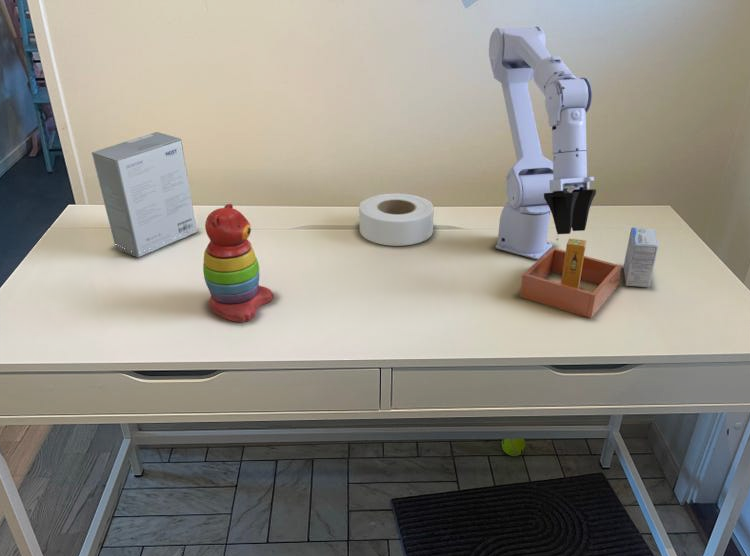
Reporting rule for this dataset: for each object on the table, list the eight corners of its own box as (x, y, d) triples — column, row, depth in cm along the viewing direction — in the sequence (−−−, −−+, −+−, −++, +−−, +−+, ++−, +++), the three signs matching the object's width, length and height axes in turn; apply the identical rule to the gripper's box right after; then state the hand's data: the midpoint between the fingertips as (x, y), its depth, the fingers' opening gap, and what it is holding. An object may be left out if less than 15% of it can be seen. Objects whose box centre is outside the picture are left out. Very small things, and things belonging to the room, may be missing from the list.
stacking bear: (247, 324, 121) (234, 226, 111) (195, 313, 124) (179, 217, 114) (278, 295, 129) (269, 202, 119) (229, 285, 132) (216, 193, 122)
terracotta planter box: (519, 296, 130) (522, 274, 128) (549, 268, 140) (552, 247, 137) (591, 318, 124) (595, 295, 122) (616, 287, 134) (621, 265, 131)
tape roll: (366, 213, 160) (365, 190, 157) (436, 218, 159) (437, 194, 155) (352, 243, 147) (351, 218, 144) (428, 249, 146) (429, 223, 143)
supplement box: (579, 289, 133) (588, 239, 127) (576, 297, 130) (585, 247, 124) (561, 286, 134) (569, 236, 128) (558, 294, 131) (566, 244, 125)
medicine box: (649, 288, 133) (659, 246, 128) (624, 286, 134) (633, 243, 129) (646, 269, 140) (655, 228, 135) (622, 267, 140) (631, 226, 135)
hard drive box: (174, 223, 155) (158, 130, 143) (198, 232, 151) (183, 138, 140) (113, 248, 144) (90, 150, 133) (137, 259, 140) (115, 159, 129)
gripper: (577, 149, 116) (579, 234, 118) (605, 150, 127) (606, 228, 130) (536, 154, 119) (539, 236, 122) (567, 155, 131) (569, 230, 134)
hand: (571, 232), depth 126 cm, fingers open, 7 cm apart
